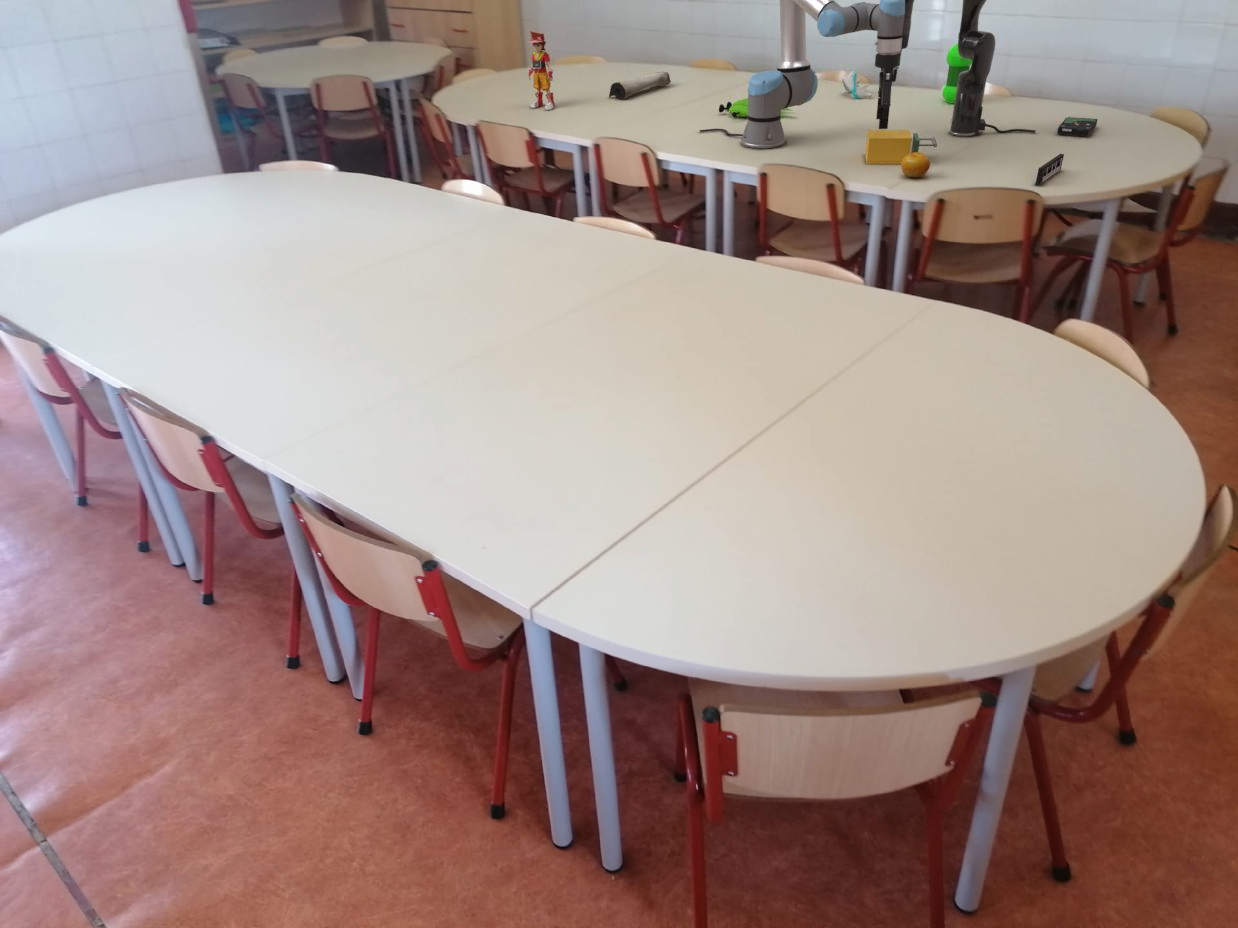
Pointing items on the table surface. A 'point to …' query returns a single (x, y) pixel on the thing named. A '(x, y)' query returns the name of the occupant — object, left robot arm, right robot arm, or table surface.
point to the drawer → (916, 144)
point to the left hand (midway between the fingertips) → (881, 124)
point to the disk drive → (1077, 126)
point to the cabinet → (887, 146)
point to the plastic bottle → (954, 73)
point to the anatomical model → (855, 86)
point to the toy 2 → (741, 108)
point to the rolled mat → (638, 84)
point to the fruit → (915, 164)
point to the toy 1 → (541, 71)
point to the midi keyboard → (1049, 169)
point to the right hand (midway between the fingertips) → (889, 84)
